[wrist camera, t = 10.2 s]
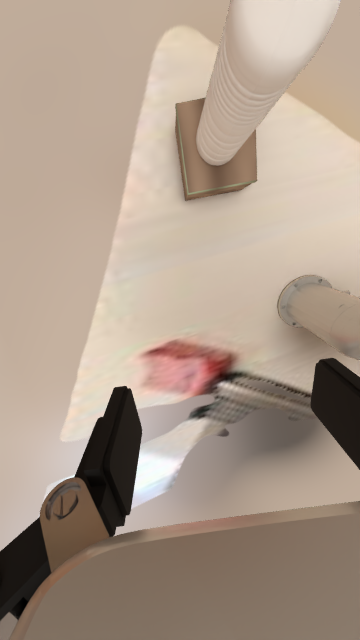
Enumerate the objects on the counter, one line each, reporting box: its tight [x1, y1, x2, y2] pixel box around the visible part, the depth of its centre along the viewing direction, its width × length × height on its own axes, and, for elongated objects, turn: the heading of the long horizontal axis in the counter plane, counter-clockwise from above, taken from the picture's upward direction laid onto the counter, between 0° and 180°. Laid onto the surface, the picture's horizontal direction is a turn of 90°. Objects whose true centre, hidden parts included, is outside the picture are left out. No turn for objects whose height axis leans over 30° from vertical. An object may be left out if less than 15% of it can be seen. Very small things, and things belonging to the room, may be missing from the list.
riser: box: [175, 98, 257, 201], centre depth 35 cm, size 11×11×8 cm
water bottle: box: [196, 0, 341, 166], centre depth 20 cm, size 9×6×25 cm
